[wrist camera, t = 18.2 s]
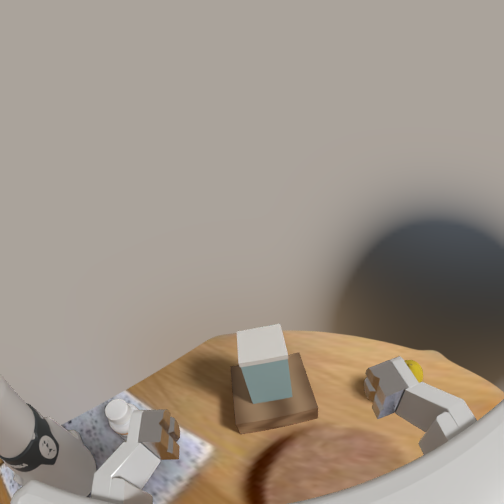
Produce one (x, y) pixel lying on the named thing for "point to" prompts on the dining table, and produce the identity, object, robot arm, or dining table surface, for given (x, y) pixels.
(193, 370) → the dining table surface
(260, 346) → the tea tin
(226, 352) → the dining table surface
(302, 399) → the walnut block
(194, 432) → the dining table surface
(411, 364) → the lemon
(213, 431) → the dining table surface
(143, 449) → the robot arm
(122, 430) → the supplement bottle
